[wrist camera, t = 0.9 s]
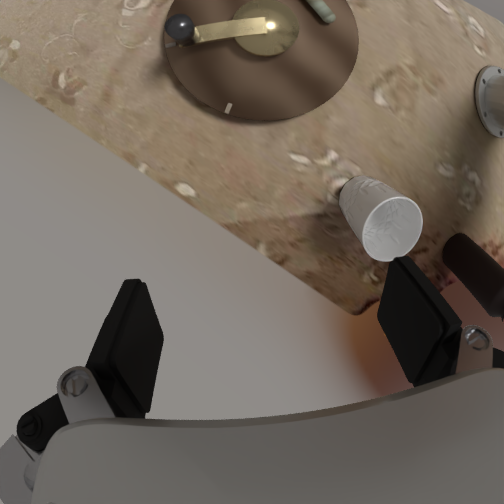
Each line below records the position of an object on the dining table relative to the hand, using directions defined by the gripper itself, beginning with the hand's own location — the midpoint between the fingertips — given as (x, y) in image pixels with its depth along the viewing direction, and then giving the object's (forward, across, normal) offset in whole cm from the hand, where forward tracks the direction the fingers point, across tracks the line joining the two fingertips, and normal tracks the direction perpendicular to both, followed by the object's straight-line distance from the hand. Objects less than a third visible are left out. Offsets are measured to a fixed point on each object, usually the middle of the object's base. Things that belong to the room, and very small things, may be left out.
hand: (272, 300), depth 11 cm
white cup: (+27, -15, +6) cm, 32 cm away
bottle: (+27, -36, +16) cm, 48 cm away
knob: (+24, 0, -15) cm, 29 cm away
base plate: (+27, -3, -15) cm, 31 cm away
